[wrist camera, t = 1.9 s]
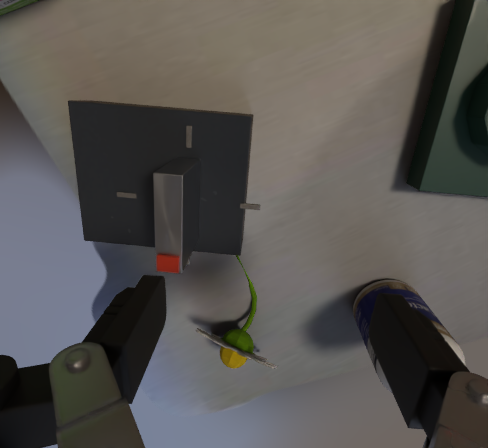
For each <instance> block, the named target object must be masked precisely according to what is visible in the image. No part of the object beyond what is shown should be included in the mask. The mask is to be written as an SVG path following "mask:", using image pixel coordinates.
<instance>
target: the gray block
mask: <svg viewBox="0 0 488 448" xmlns="http://www.w3.org/2000/svg"><path fill="white" fill-rule="evenodd" d="M200 161H201V160H200V159H192V158H181V157H177V158H175V159H174V160H172V161H171V162H169V163H168V164H166V165H165V166H163V167H161V168H160V169H158V170H157V171H155V172H154V173H153V183H154V220H155V257H156V271H157V272H166V273H176V274H182V273H183V271H184V269H185V267H186V265H187V262H188V260H189V258H190V256H191V254H192V252H193V250H194V248H195V246H196V244H197V241H198V232H199V197H200Z"/></svg>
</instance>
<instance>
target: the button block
mask: <svg viewBox="0 0 488 448" xmlns="http://www.w3.org/2000/svg"><path fill="white" fill-rule="evenodd" d="M406 183H407V184H408V185H410V186H412V187H414V188H415V189H417V190H419V191H428V192H439V193H450V194H461V195H472V196H483V197H488V0H456V2H455V5H454V9H453V13H452V16H451V20H450V24H449V27H448V31H447V35H446V38H445V42H444V46H443V49H442V53H441V57H440V60H439V64H438V68H437V71H436V75H435V79H434V82H433V86H432V90H431V93H430V97H429V101H428V104H427V108H426V112H425V115H424V119H423V123H422V126H421V130H420V134H419V137H418V141H417V145H416V148H415V152H414V156H413V159H412V163H411V167H410V170H409V174H408V178H407V181H406Z"/></svg>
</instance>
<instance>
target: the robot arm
mask: <svg viewBox="0 0 488 448" xmlns="http://www.w3.org/2000/svg"><path fill="white" fill-rule="evenodd" d="M165 320H166V288H165V278H164V277H163V276H151V275H143V276H142V278H141V279H140V281H139V282H138V284H137V285H136V287H135V288H132V287H127V288H126V289H124V290H123V291H121V292H120V293H118V294H117V295H116V296H115V297H114V299H113V300H112V302H111V303H110V304H109V306H108V307H107V308H106V310H105V311H104V314H102V315H101V317H100V318H99V319H98V321H97V322H96V324H95V325H94V326H93V328H92V329H91V331H90V332H89V333H88V335H87V336H86V337H85V339H84V340H83V341H82V343H78V344H74V345H72V346H69V347H67V348H65V349H64V350H62V351H61V352H59V353H58V354H57V355H56V356H55V357H54V358H53V360H52V361H51V363H48V364H42V365H36V366H30V367H24V368H18V367H17V364H16V361H15V360H14V359H13V358H12V357H10V356H6V355H0V448H43V447H46V446H51V445H55V444H58V448H145V446H144V444H143V441H142V438H141V435H140V433H139V430H138V428H137V425H136V422H135V419H134V417H133V414H132V412H131V409H130V406H129V404H132V402H133V399H134V397H135V394H136V392H137V390H138V387H139V385H140V383H141V380H142V378H143V376H144V373H145V371H146V368H147V366H148V364H149V361H150V359H151V356H152V354H153V352H154V349H155V347H156V344H157V342H158V340H159V337H160V335H161V333H162V330H163V328H164V325H165ZM369 340H370V343H371V346H372V348H373V350H374V353H375V355H376V357H377V359H378V361H379V364H380V366H381V368H382V370H383V373H384V375H385V377H386V379H387V382H388V384H389V386H390V388H391V391H392V393H393V395H394V397H395V399H396V402H397V404H398V406H399V408H400V411H401V413H402V415H403V417H404V420H405V422H406V424H407V426H408V428H414V429H424V431H425V432H426V435H427V437H426V440H425V442H424V445H423V448H488V379H486V378H484V377H482V376H480V375H477V374H474V373H470V371H469V370H468V369H467V367H466V366H465V365H464V363H463V362H462V361H461V360H460V358H459V357H458V356H457V354H456V353H455V352H454V350H453V349H452V348H451V346H450V345H449V344H448V342H447V341H445V339H444V337H443V336H442V335H441V333H440V332H438V329H437V328H436V327H435V325H434V324H433V323H432V321H431V320H430V319H429V318H428V317H426V316H425V315H424V314H422V313H421V312H420V311H418V310H417V309H412V308H411V306H410V305H409V303H408V302H407V301H406V299H405V298H404V296H403V295H401V294H389V293H379V294H378V295H377V298H376V301H375V305H374V309H373V313H372V317H371V321H370V325H369Z"/></svg>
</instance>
